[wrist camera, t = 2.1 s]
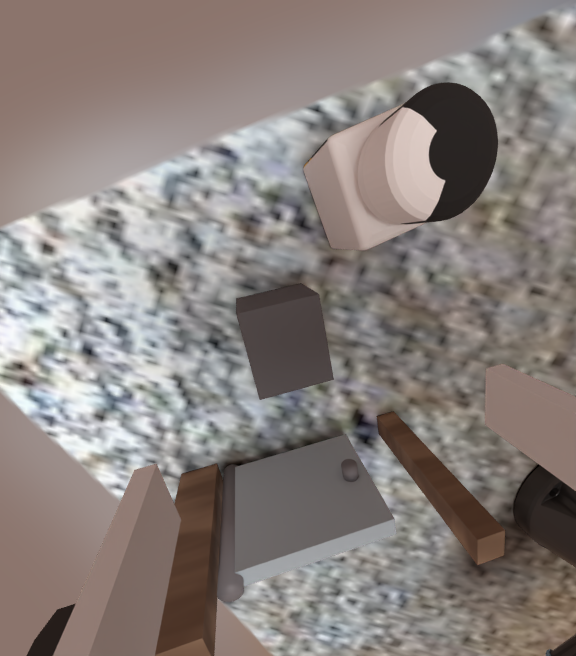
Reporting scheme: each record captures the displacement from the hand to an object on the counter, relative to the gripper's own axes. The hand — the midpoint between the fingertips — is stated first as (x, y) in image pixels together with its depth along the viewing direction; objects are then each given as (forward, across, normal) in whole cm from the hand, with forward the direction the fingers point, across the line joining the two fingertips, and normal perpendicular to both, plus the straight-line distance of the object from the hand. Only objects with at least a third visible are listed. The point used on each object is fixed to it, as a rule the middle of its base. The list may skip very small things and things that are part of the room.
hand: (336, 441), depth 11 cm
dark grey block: (+17, 0, 0) cm, 17 cm away
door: (+16, +2, +14) cm, 21 cm away
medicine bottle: (+17, -9, -10) cm, 22 cm away
